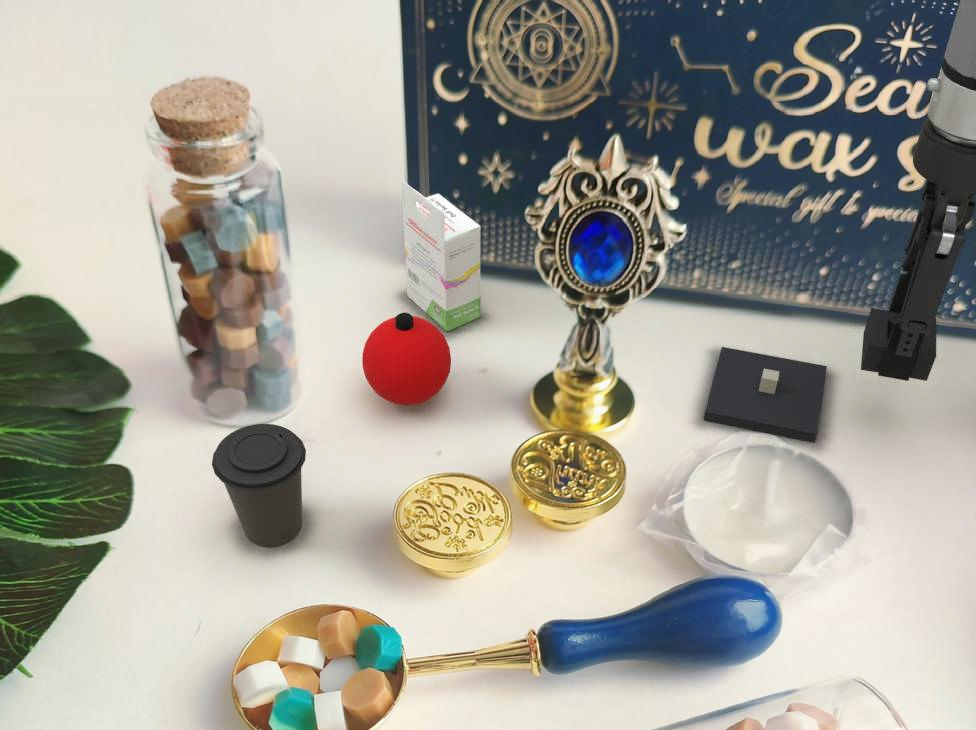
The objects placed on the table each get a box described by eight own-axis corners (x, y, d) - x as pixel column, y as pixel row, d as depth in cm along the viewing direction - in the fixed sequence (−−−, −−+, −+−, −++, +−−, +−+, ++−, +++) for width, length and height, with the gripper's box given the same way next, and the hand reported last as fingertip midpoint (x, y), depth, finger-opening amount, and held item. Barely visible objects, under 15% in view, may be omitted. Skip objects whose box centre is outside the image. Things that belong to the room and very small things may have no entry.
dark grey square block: (863, 332, 106) (871, 307, 104) (927, 343, 105) (936, 317, 103) (860, 370, 102) (868, 344, 100) (926, 381, 101) (936, 355, 99)
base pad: (719, 355, 116) (724, 332, 114) (824, 374, 114) (831, 352, 112) (703, 420, 109) (707, 397, 107) (814, 442, 107) (821, 420, 104)
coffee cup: (332, 509, 101) (321, 430, 94) (288, 570, 96) (273, 491, 89) (258, 484, 103) (242, 405, 96) (211, 542, 98) (190, 464, 91)
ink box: (483, 318, 121) (484, 200, 110) (446, 333, 119) (443, 215, 108) (441, 281, 126) (437, 165, 115) (405, 295, 124) (398, 178, 113)
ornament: (377, 362, 116) (370, 284, 108) (459, 372, 115) (458, 293, 107) (356, 417, 110) (347, 339, 102) (442, 428, 109) (440, 349, 101)
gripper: (927, 69, 93) (861, 292, 110) (920, 177, 81) (847, 409, 98) (1020, 80, 92) (938, 305, 108) (1027, 191, 79) (933, 425, 96)
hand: (895, 354), depth 103 cm, fingers closed on dark grey square block, 6 cm apart
